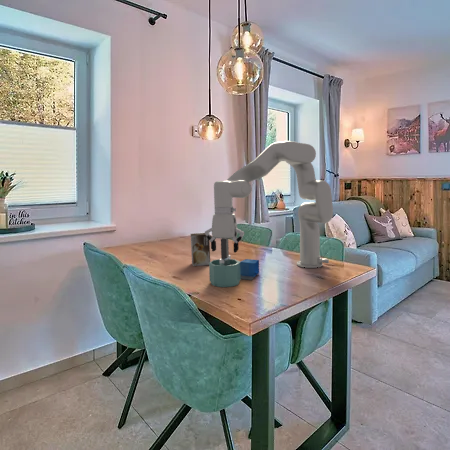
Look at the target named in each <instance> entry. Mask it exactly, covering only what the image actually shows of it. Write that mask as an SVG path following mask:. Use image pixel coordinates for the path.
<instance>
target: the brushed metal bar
mask: <svg viewBox="0 0 450 450" xmlns="http://www.w3.org/2000/svg"><path fill="white" fill-rule="evenodd" d="M229 248H230V247H229V238H220V258H219V264H220V265H222V266H227V265H231V259H232V258H231V254H230V252H229Z"/></svg>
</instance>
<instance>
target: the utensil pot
mask: <svg viewBox="0 0 450 450" xmlns="http://www.w3.org/2000/svg"><path fill="white" fill-rule="evenodd" d="M219 259H220V258H219ZM219 259H218V258H217V259H213V260H210V262H209V265H208V266H209V267H208V269H209V271H208V272H209V273H208V275H209V276H208V277H209V283H210V284H211V286H214V287H218V288H232V287H235V286H238V285H240V281H242V279H241V275H240V262H241V261H240V260H237V259H235V258H231V265H227V266H222V265H220V264H219Z"/></svg>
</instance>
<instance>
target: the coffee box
mask: <svg viewBox="0 0 450 450" xmlns="http://www.w3.org/2000/svg"><path fill="white" fill-rule="evenodd" d="M190 246H191V247H190V248H191V251H190V253H191V264H192V266H193V267H198V266H199V267H200V266H209V262H211V242H210V240H209V239H208V238H207V236H206V234H205V232H202V233H201V232H200V233H199V232H197V233H196V232H195V233H190Z"/></svg>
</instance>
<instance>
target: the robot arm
mask: <svg viewBox="0 0 450 450" xmlns="http://www.w3.org/2000/svg"><path fill="white" fill-rule="evenodd" d="M316 155H317V151H316V149H315V147H314V146H313V145H312V144H309V143H303V142H297V141H293V140H292V141H291V140H284V141H277V142H273V143H271V144H270V145H269V146H267V147H266V148H265V149H264V150H263V151H262V152H261V153H260V154H259V155H258V156H257V157H256V158H254V159H253V160H252V161H251V162H249V163H247V164H246V165H245V166H243V167H241V168H240V169H238V170H236V171H235V172H234V173H233V174H231V175H230V176H229V177H228V178H227V180H218V181H215V182H214V183H213V198H214V199H213V201H214V203H213V204H214V207H213V208H214V213H213V215H212V220H211V228H209V229H207V230H204V233H205V234H206V236H207V238H208V239H209V243H210V250H211V252H212V253H213V252H216V251H217V241H216V239H222V238H228V239H231V240H232V241H233V253H237V252H238V251H239V242H240V241H242V239H243V237H244V235H245V232H244V231H243V230H241V229H239V228H238V224H237V219H236V215H235V212H237V208H235V207H234V206H233V198H236V199H237V198H238V199H245V198H248V196H250V194H252V185H251V183H250V182H253V181H256V180H260V179H262V178H264V177H265V176H267V175H268V174H269V173H270V172H271V171H272V170H273V169H274V168H275V167H276V166H277V165H279V163H281V162H286V163H287V164H288V165H290V167H292V168H293V170H294V171H295V174H296V179H297V180H296V181H297V189H298V194H299V197H300V198H301V199H302V200H307V201H305V202H303V203H301V204H300V205H299V207H298V210H297V214H298V215H297V216H298V221H299V260H298V261H297V262H296V266H298V267H300V268H304V267H305V269H316V268H317V267H318V268H321V267H323V265H324V264H329V263H330V261H329V258H328V259H327V258H322V257H321V255H320V245H321V244H320V243H321V242H320V241H321V239H320V237H321V235H320V234H321V231H320V230H321V229H320V225H319V224H327V223H329V222H331V220H332V219H333V216H334V208H333V199H332V198H333V195H332V189H331V186H330V185H329V183H328V182H327V181H326V180H323V179H316V173H315V167H314V165H313V164H312V162H314V161H315V159H316ZM313 201H314V202H313ZM238 234H239V236H238ZM237 236H238V237H237Z"/></svg>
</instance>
